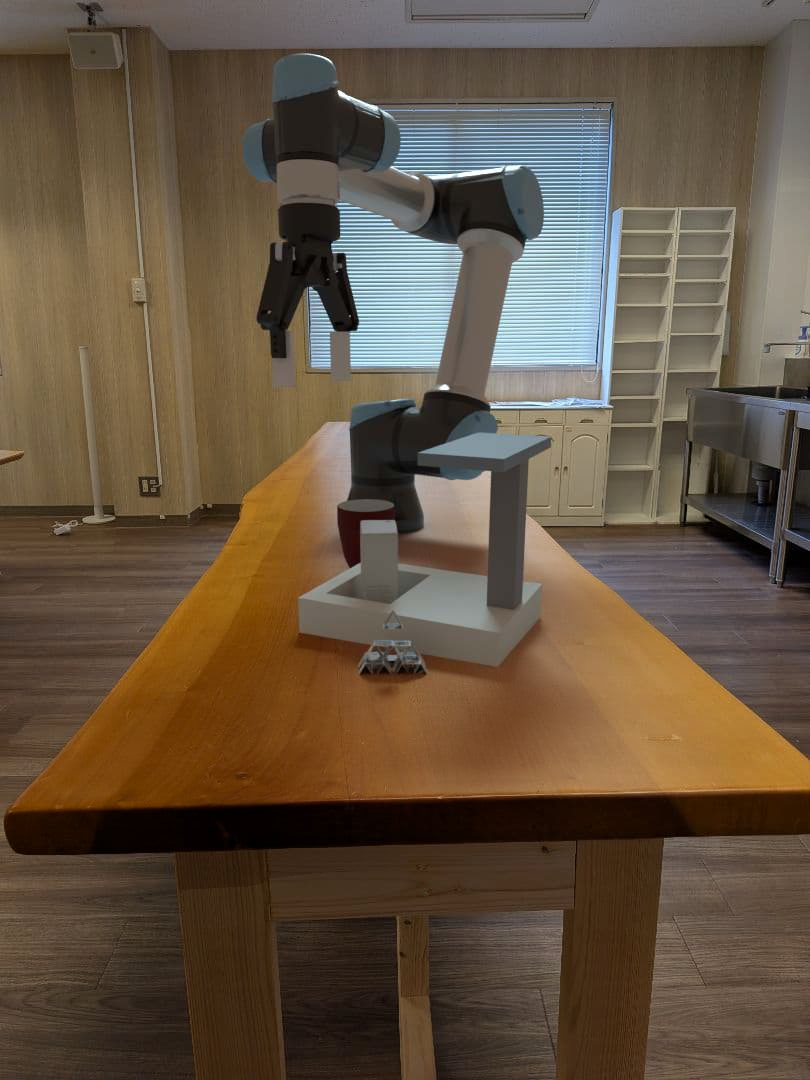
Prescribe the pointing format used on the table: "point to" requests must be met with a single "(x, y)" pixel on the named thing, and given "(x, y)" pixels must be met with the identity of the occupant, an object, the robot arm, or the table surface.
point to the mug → (351, 519)
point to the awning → (498, 501)
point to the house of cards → (399, 659)
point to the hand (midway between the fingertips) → (314, 383)
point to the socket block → (423, 614)
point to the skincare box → (379, 560)
